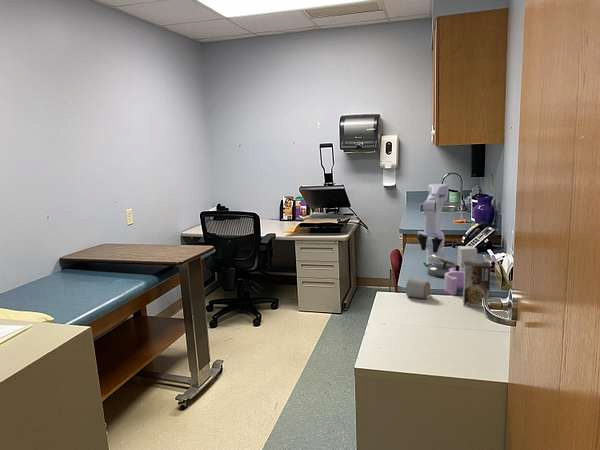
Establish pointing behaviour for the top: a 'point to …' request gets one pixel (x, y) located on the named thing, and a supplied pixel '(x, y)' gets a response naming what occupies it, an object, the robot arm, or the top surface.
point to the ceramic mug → (417, 288)
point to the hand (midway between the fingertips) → (429, 251)
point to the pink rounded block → (453, 280)
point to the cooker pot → (439, 269)
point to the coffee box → (476, 282)
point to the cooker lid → (443, 260)
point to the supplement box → (466, 255)
